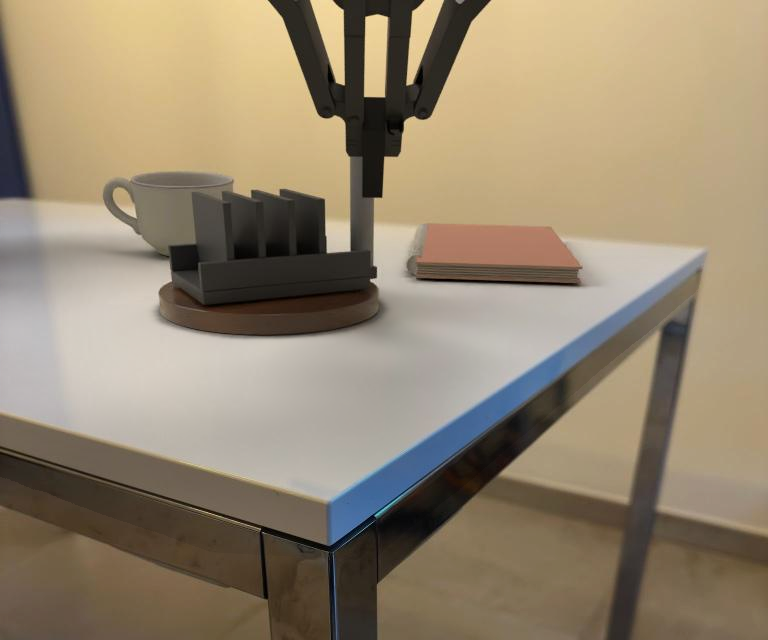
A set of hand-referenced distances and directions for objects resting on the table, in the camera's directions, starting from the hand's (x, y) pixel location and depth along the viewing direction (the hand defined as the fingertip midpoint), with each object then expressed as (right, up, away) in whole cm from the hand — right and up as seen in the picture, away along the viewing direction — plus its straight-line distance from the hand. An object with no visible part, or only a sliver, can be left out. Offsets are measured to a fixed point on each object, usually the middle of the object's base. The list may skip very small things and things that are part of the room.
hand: (372, 182), depth 57 cm
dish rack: (-7, -5, +8) cm, 12 cm away
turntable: (-9, -7, +8) cm, 14 cm away
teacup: (-22, +4, +29) cm, 37 cm away
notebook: (+12, +4, +30) cm, 32 cm away
